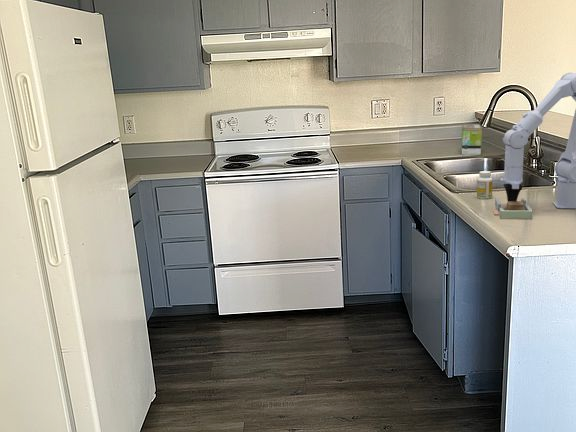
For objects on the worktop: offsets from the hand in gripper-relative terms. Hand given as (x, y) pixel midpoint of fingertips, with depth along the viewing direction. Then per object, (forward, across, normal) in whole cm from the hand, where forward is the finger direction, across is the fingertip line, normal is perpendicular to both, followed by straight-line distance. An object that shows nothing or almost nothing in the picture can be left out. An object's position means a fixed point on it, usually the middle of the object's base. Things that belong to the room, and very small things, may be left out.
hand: (511, 205), depth 191 cm
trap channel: (+1, +2, 0) cm, 3 cm away
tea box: (+2, -120, -6) cm, 120 cm away
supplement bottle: (+2, -17, -8) cm, 19 cm away
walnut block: (+2, +9, 0) cm, 9 cm away
